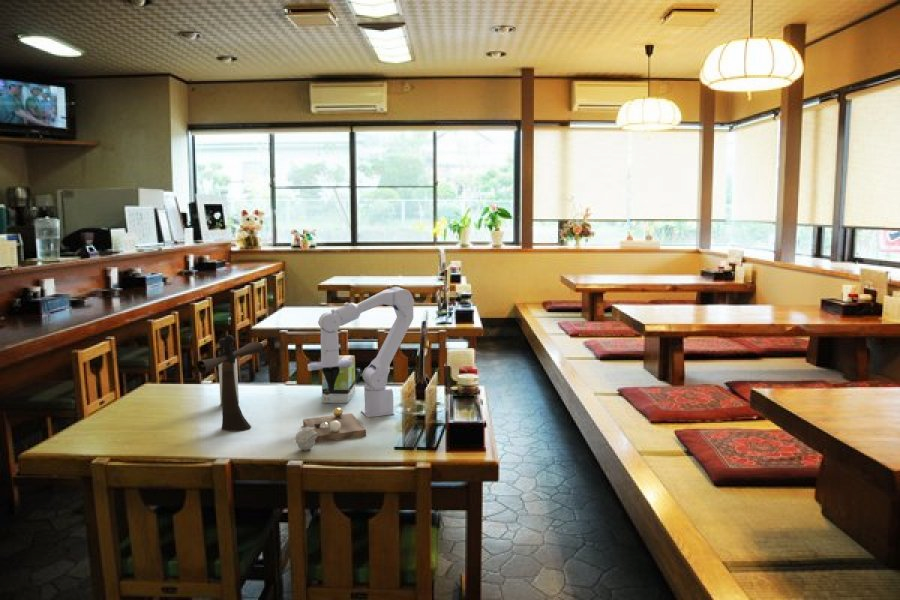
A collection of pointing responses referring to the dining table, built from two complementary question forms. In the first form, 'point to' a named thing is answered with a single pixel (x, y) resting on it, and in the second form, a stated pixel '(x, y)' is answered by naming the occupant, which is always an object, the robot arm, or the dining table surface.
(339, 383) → the tea box
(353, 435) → the walnut board
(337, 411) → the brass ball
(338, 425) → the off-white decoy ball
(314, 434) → the grey rounded lump
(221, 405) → the travel mug
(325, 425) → the steel ball
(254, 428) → the dining table surface
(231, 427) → the t-shaped wooden sculpture
